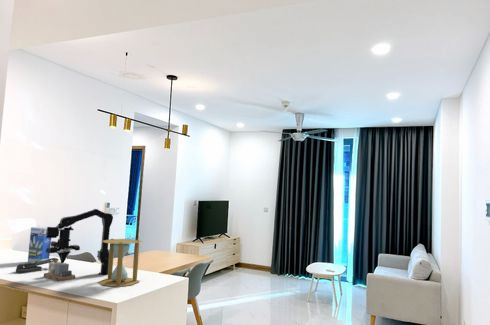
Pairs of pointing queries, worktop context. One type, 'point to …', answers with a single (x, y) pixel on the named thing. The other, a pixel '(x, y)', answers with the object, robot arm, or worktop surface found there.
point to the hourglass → (120, 273)
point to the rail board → (64, 276)
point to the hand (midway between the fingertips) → (62, 263)
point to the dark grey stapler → (33, 266)
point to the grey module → (61, 268)
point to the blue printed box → (38, 245)
